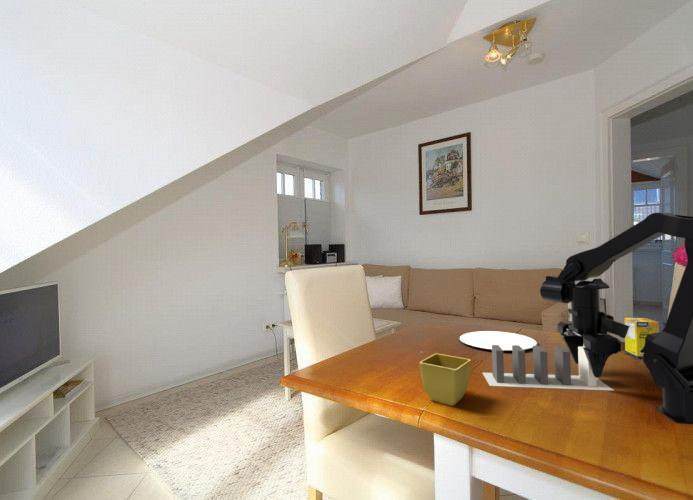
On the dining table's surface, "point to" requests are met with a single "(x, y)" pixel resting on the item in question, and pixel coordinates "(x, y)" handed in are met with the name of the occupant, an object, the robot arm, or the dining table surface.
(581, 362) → the domino
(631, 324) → the supplement box
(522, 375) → the domino
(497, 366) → the domino
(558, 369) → the domino
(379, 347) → the dining table surface
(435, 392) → the flower pot
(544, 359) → the domino
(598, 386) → the runner mat
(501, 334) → the plate
